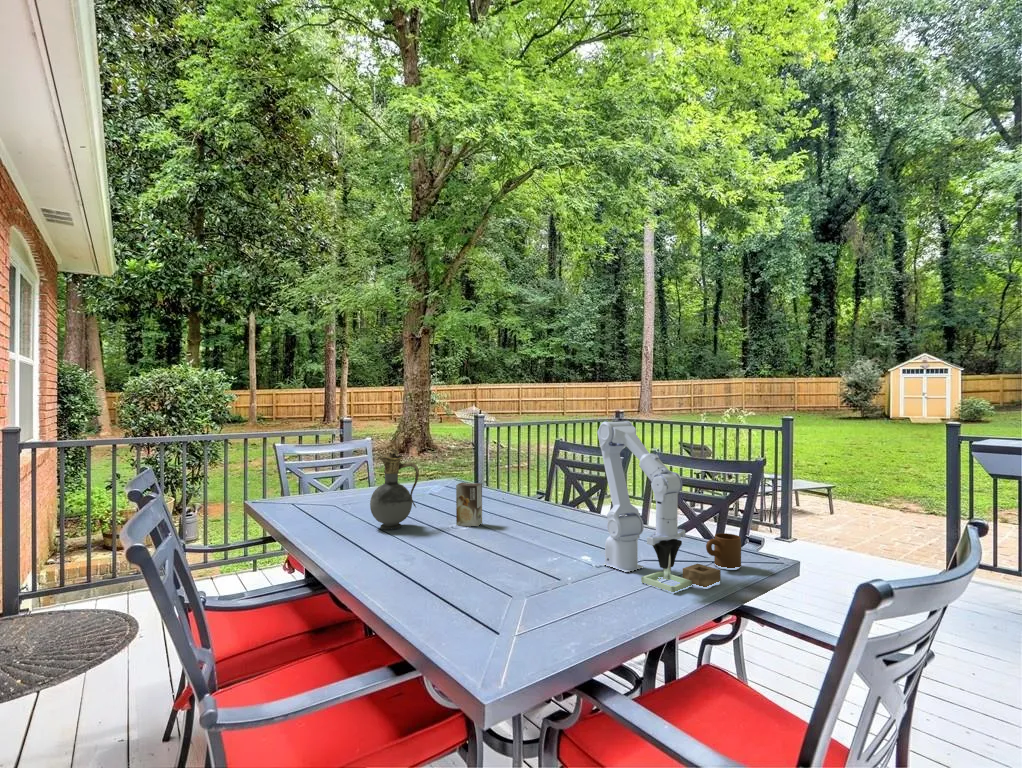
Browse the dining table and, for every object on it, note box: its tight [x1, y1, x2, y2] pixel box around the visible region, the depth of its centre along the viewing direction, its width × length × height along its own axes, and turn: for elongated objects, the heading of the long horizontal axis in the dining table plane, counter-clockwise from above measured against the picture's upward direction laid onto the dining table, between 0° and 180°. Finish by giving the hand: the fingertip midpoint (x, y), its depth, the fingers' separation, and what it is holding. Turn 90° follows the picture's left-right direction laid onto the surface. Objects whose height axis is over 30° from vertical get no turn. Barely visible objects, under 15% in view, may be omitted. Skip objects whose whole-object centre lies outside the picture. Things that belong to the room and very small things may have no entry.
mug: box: [705, 532, 742, 568], centre depth 170 cm, size 12×8×9 cm, turn 114°
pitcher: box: [369, 448, 420, 530], centre depth 218 cm, size 11×19×30 cm, turn 121°
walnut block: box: [682, 563, 722, 587], centre depth 156 cm, size 7×7×4 cm
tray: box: [640, 570, 692, 592], centre depth 155 cm, size 10×8×2 cm
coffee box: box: [455, 482, 483, 527], centre depth 223 cm, size 9×6×16 cm
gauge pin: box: [662, 551, 672, 580], centre depth 155 cm, size 2×2×8 cm
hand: (666, 567), depth 155 cm, fingers closed on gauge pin, 2 cm apart
